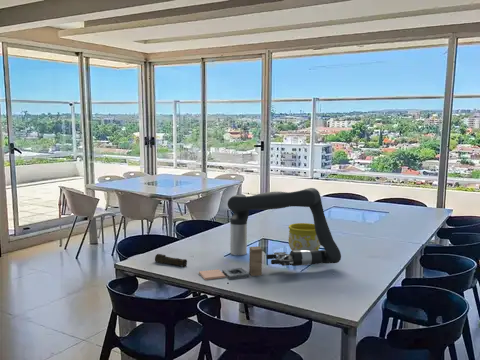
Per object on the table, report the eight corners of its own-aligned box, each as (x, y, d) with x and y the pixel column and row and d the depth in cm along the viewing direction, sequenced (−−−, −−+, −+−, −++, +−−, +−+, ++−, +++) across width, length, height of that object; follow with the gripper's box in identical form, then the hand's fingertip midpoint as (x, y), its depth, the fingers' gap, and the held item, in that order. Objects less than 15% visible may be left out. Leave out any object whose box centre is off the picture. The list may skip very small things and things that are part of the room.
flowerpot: (284, 257, 247) (284, 228, 245) (292, 249, 264) (293, 221, 262) (316, 261, 241) (317, 231, 239) (323, 253, 258) (324, 224, 256)
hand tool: (187, 266, 233) (187, 257, 232) (183, 268, 229) (183, 259, 229) (158, 260, 242) (158, 252, 241) (153, 262, 238) (153, 254, 238)
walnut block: (249, 272, 222) (249, 246, 221) (259, 272, 223) (259, 246, 222) (251, 276, 217) (251, 249, 216) (261, 275, 218) (261, 249, 217)
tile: (199, 273, 220) (198, 271, 220) (218, 271, 224) (218, 269, 224) (204, 280, 211) (204, 277, 211) (225, 277, 215) (225, 275, 215)
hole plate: (222, 272, 222) (222, 269, 221) (241, 270, 225) (241, 267, 225) (229, 279, 212) (229, 276, 212) (249, 276, 216) (249, 273, 216)
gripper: (296, 246, 231) (265, 247, 227) (305, 254, 217) (272, 256, 213) (295, 260, 231) (265, 262, 228) (305, 269, 218) (272, 271, 214)
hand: (268, 259), depth 221 cm, fingers open, 8 cm apart
